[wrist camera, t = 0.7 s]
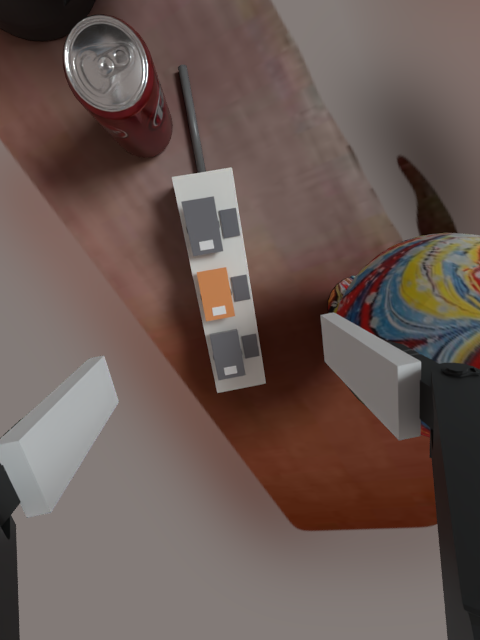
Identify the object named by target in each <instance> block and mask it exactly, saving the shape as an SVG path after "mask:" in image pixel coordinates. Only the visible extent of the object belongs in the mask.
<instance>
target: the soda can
mask: <svg viewBox="0 0 480 640" xmlns="http://www.w3.org/2000/svg"><path fill="white" fill-rule="evenodd" d="M63 68H64V72H65V77H66V80H67V82H68V85H69V87H70V89H71V91H72V92H73V94H74V96H75V97H76V98H77V99H78V101H79V102H80V103H81V104H82V105H83V106H84V108H85V109H86V110H87V111H88V112H89V113H90V114H91V115H92V116H93V117H94V118H95V119H96V120H97V121H98V122H99V124H100V125H101V126H102V127H103V128H104V129H105V130H106V131H107V132H108V133H109V134H110V135H111V136H112V137H113V139H114V140H115V141H116V142H117V143H118V144H119V145H120V146H121V147H122V148H123V149H124V150H125V151H127V152H128V153H130V154H132V155H134V156H137V157H143V158H147V157H153V156H156V155H157V154H159V153H161V152H162V151H163V150H164V149H165V148H166V147H167V145H168V144H169V141H170V139H171V135H172V127H173V124H172V118H171V114H170V111H169V108H168V105H167V102H166V99H165V96H164V93H163V90H162V87H161V84H160V81H159V78H158V75H157V72H156V69H155V66H154V63H153V60H152V57H151V54H150V52H149V50H148V48H147V46H146V44H145V42H144V40H143V39H142V38H141V36H140V35H139V34H138V33H137V32H136V31H135V30H134V29H133V28H132V27H131V26H130V25H129V24H127V23H126V22H124V21H123V20H121V19H118V18H116V17H114V16H110V15H104V14H101V15H92V16H89V17H85V18H84V19H82V20H81V21H79V22H78V23H77V24H76V25H75V26H74V27H73V28H72V29H71V31H70V33H69V34H68V36H67V38H66V41H65V44H64V49H63Z"/></svg>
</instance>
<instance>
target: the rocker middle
mask: <svg viewBox="0 0 480 640" xmlns="http://www.w3.org/2000/svg"><path fill="white" fill-rule="evenodd" d="M197 277H198V283H199V288H200V293H201V294H200V296H201V300H202V303H203V308H204V313H205V319H206V321H212V320H217V319H223V318H228V317H233V316H235V312H234V307H233V301H232V296H231V295H232V292H231V289H230V285H229V279H228V274H227V269H226V267H224V268H218V269H213V270H207V271H201V272H197Z"/></svg>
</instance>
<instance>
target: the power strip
mask: <svg viewBox="0 0 480 640" xmlns="http://www.w3.org/2000/svg"><path fill="white" fill-rule="evenodd" d="M178 70H179V75H180V80H181V86H182V91H183V96H184V102H185V107H186V112H187V118H188V123H189V128H190V134H191V139H192V144H193V150H194V155H195V160H196V165H197V171H198V173H195V174H189V175H182V176H176V177H172V181H173V186H174V190H175V195H176V200H177V205H178V209H179V214H180V219H181V223H182V228H183V233H184V238H185V242H186V247H187V252H188V257H189V261H190V266H191V271H192V276H193V280H194V285H195V290H196V294H197V299H198V304H199V309H200V313H201V318H202V323H203V328H204V332H205V337H206V342H207V347H208V351H209V356H210V361H211V365H212V370H213V375H214V380H215V384H216V389H217V393H220V392H225V391H231V390H236V389H241V388H246V387H251V386H256V385H261V384H266V380H265V373H264V367H263V361H262V355H261V348H260V342H259V336H258V329H257V323H256V317H255V310H254V304H253V298H252V292H251V285H250V279H249V273H248V266H247V260H246V254H245V248H244V241H243V235H242V229H241V222H240V216H239V210H238V203H237V197H236V191H235V185H234V178H233V172H232V167H231V168H225V169H219V170H213V171H207V172H206V170H205V165H204V159H203V154H202V148H201V143H200V137H199V132H198V126H197V121H196V115H195V110H194V104H193V99H192V93H191V88H190V82H189V77H188V71H187V66H186V65H180V66H179V67H178ZM212 196H214V200H215V206H216V212H217V217H218V221H219V224H220V228H219V229H220V235H221V240H222V246H223V251H221V252H215V253H210V254H204V255H198V256H193V253H192V249H191V244H190V239H189V235H188V233H187V229H186V221H185V217H184V212H183V208H182V203H181V202H182V201H188V200H194V199H200V198H206V197H212ZM224 267H226V269H227V274H228V279H229V285H230V289H231V292H232V295H231V296H232V301H233V307H234V312H235V316H233V317H228V318H223V319H217V320H212V321H206V319H205V313H204V308H203V303H202V300H201V296H200V294H201V293H200V288H199V283H198V277H197V272H201V271H207V270H213V269H218V268H224ZM233 329H237V330H238V336H239V341H240V347H241V349H242V354H243V355H242V358H243V363H244V369H245V374H246V375H244V376H239V377H234V378H229V379H223V380H218V376H217V371H216V366H215V361H214V359H213V351H212V345H211V340H210V334H212V333H217V332H222V331H228V330H233Z"/></svg>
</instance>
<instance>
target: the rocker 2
mask: <svg viewBox="0 0 480 640" xmlns="http://www.w3.org/2000/svg"><path fill="white" fill-rule="evenodd" d="M210 340H211V345H212V351H213V359H214V361H215V366H216V371H217V376H218V380H223V379H229V378H234V377H239V376H244V375H246V374H245V369H244V363H243V358H242V355H243V354H242V349H241V347H240V341H239V336H238V330H237V329H233V330H228V331H222V332H217V333H212V334H210Z"/></svg>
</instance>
